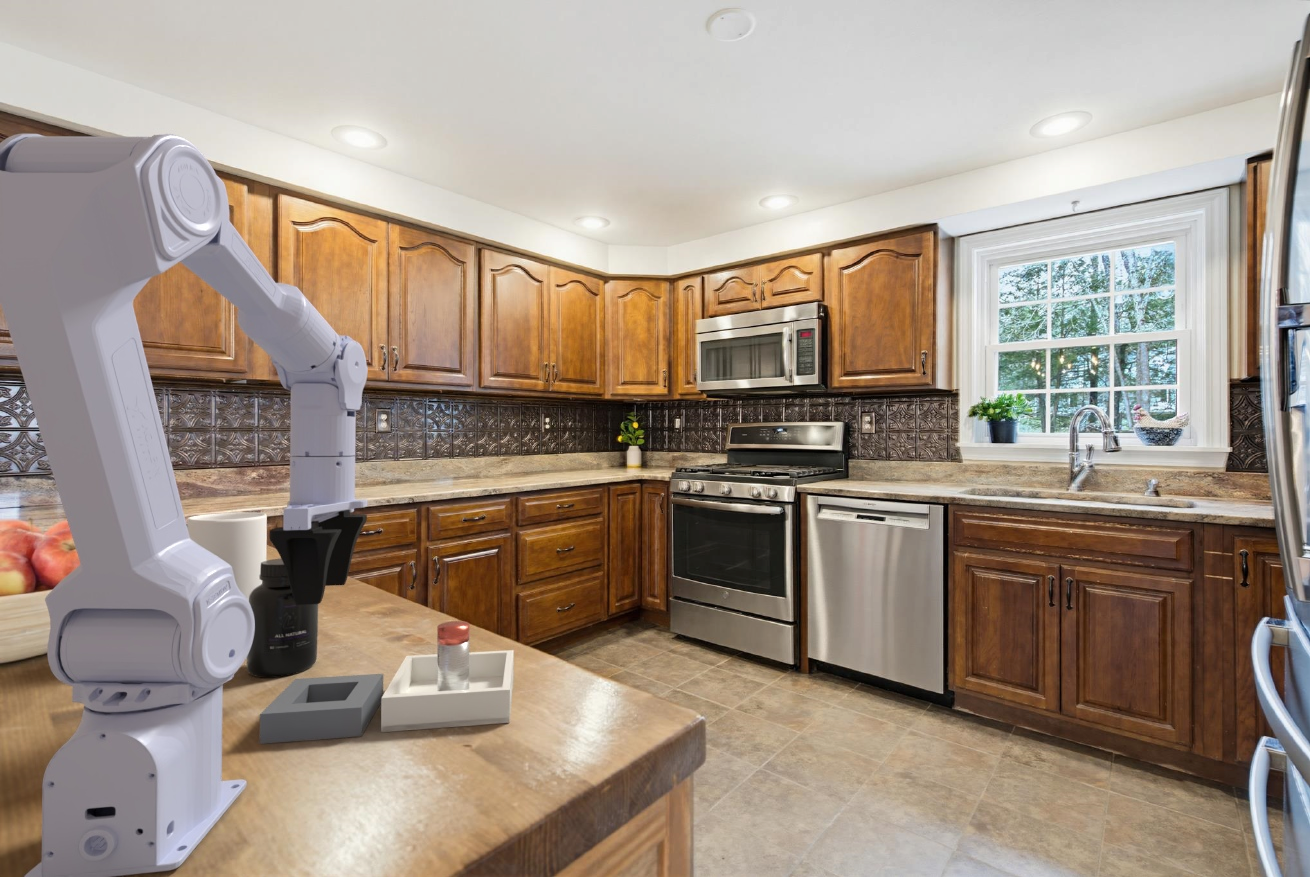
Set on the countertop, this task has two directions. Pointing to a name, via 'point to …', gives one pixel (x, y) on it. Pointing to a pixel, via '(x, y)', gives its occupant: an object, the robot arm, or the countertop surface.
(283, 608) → the supplement bottle
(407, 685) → the pin tray
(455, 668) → the stop pin
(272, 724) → the gray square holder
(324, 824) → the countertop surface
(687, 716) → the countertop surface
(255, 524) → the cup
